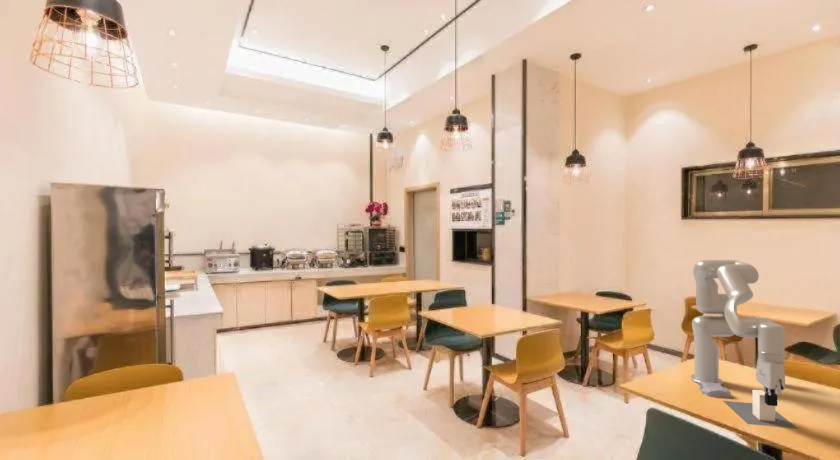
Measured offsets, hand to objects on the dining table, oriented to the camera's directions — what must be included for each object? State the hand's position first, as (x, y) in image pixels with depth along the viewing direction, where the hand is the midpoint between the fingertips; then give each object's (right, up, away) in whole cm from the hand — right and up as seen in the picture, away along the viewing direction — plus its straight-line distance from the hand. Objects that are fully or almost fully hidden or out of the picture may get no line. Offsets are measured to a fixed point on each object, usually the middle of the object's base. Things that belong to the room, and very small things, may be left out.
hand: (771, 404), depth 150 cm
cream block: (+1, -8, +5) cm, 9 cm away
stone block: (0, -8, +29) cm, 30 cm away
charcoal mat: (+2, -8, +9) cm, 12 cm away
